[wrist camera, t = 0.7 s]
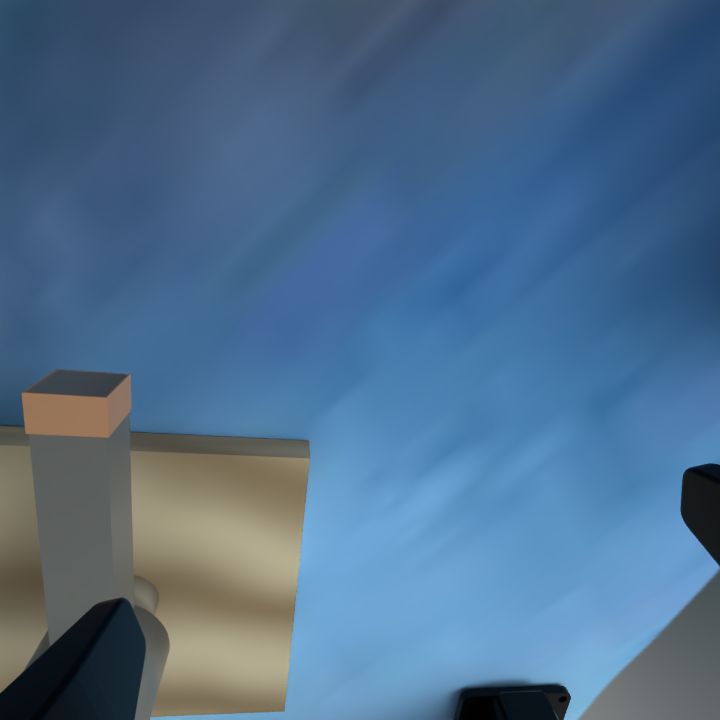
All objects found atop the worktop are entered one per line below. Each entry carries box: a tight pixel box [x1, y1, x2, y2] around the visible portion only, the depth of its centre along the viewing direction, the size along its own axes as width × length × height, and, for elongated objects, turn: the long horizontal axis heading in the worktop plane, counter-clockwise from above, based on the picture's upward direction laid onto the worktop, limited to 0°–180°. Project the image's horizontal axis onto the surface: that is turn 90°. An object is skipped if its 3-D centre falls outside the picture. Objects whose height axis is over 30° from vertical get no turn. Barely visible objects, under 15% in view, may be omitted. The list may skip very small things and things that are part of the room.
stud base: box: [0, 426, 310, 717], centre depth 19 cm, size 14×14×4 cm
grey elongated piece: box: [22, 369, 170, 720], centre depth 15 cm, size 13×4×3 cm, turn 173°
